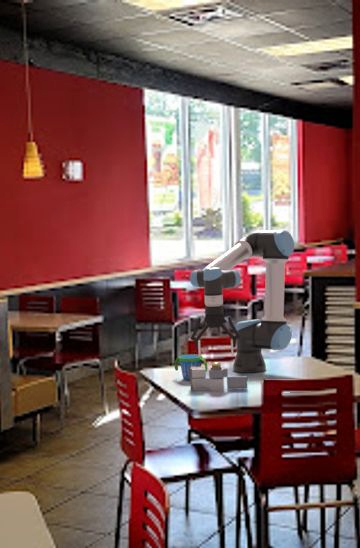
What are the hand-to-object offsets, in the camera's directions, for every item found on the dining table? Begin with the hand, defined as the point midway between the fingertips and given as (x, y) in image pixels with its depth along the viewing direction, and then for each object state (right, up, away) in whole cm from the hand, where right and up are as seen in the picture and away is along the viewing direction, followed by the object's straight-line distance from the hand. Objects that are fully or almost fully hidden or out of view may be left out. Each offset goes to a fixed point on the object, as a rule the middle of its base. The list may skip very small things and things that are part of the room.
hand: (216, 356), depth 343 cm
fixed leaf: (-3, -14, +1) cm, 14 cm away
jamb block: (-7, -14, +4) cm, 16 cm away
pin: (0, -14, +1) cm, 14 cm away
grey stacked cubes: (+5, -14, +1) cm, 14 cm away
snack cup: (-10, -13, +26) cm, 30 cm away
